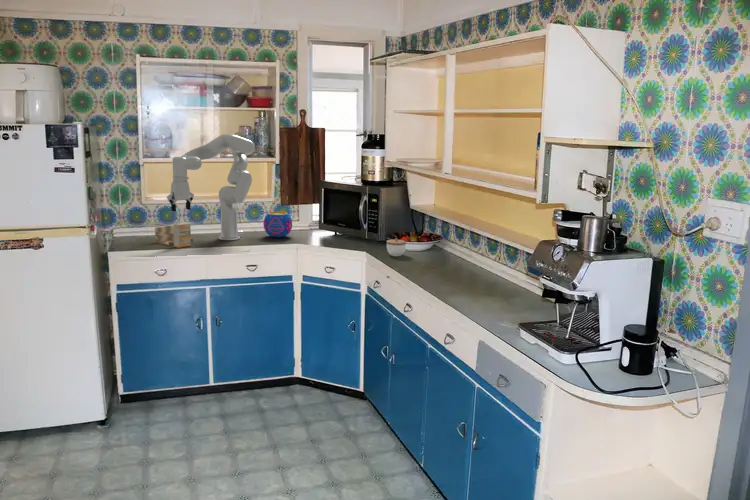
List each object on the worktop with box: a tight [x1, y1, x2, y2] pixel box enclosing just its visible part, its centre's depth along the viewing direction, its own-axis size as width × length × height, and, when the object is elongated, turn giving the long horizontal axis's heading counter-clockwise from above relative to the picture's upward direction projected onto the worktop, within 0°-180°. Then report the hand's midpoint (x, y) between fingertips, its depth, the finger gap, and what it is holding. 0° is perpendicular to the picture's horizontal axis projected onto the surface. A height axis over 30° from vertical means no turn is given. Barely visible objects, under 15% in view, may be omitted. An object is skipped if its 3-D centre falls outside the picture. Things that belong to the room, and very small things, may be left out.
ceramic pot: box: [262, 211, 293, 239], centre depth 397 cm, size 18×18×15 cm
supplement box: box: [173, 222, 192, 249], centre depth 362 cm, size 8×5×13 cm, turn 143°
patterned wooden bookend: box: [154, 224, 194, 247], centre depth 373 cm, size 16×13×9 cm
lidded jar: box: [386, 237, 407, 257], centre depth 356 cm, size 11×11×9 cm
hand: (181, 210), depth 360 cm, fingers open, 9 cm apart
